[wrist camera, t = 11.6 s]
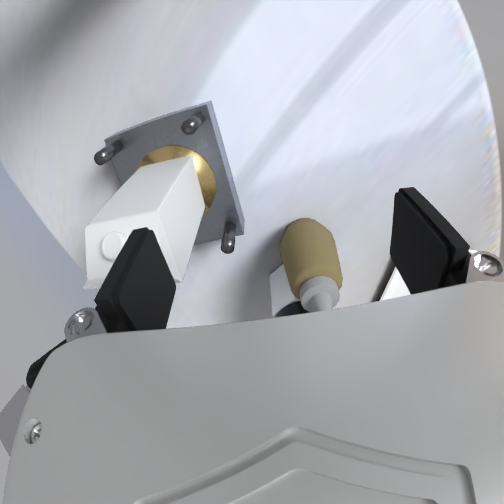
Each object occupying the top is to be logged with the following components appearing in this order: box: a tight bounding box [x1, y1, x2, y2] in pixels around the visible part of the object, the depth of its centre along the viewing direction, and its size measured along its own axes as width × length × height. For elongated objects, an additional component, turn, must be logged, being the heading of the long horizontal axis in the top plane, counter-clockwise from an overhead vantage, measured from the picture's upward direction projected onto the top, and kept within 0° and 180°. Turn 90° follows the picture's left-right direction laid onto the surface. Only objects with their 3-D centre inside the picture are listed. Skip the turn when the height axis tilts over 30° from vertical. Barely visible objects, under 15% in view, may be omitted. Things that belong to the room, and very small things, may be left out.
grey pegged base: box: [94, 101, 244, 254], centre depth 36 cm, size 18×14×9 cm
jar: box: [270, 264, 312, 318], centre depth 45 cm, size 9×8×12 cm
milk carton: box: [83, 156, 205, 290], centre depth 28 cm, size 7×7×19 cm
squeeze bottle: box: [280, 218, 343, 312], centre depth 38 cm, size 8×8×18 cm
